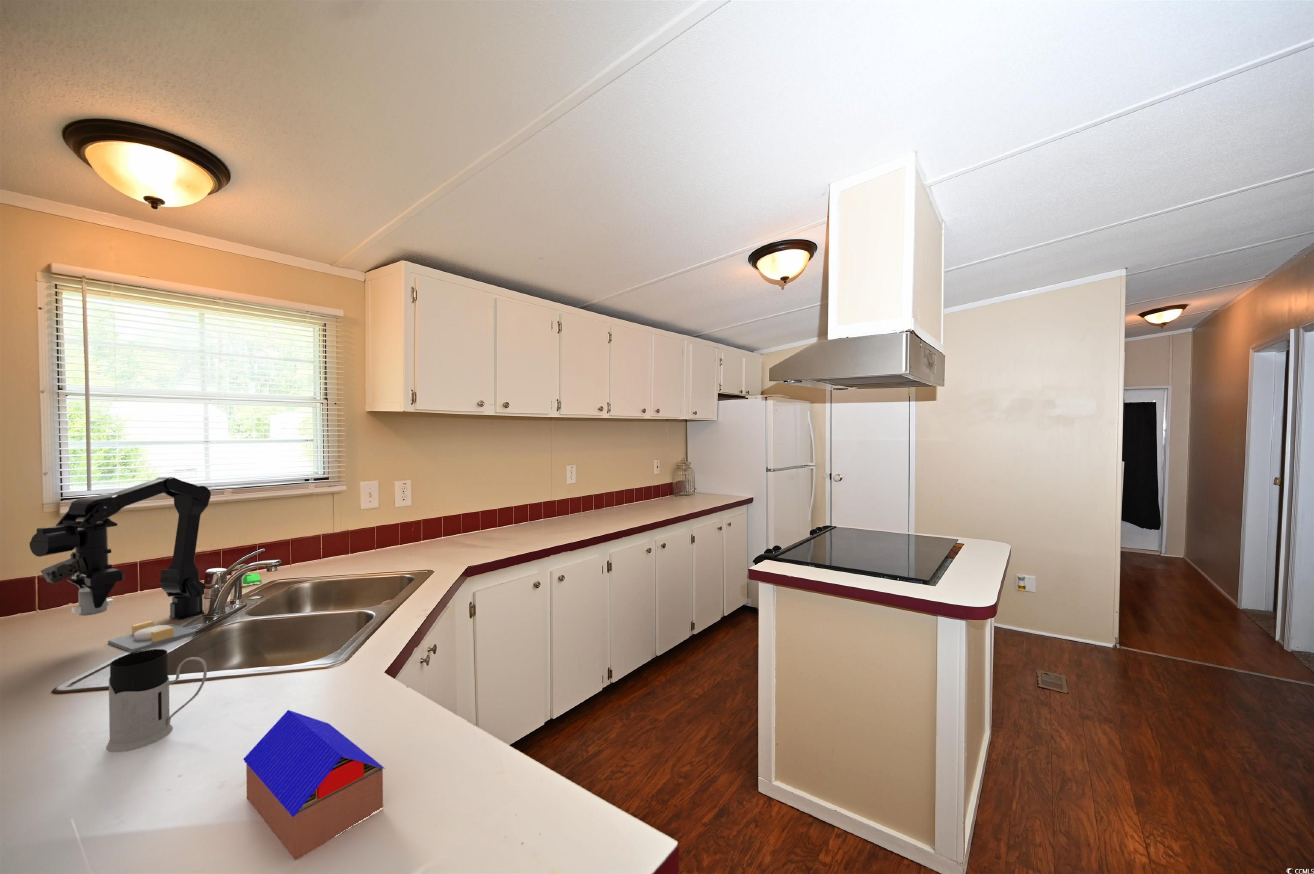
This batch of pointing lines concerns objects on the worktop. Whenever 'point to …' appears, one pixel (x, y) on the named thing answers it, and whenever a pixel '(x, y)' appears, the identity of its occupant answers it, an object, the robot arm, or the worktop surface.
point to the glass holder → (141, 699)
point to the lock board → (148, 643)
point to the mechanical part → (251, 578)
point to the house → (311, 782)
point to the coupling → (89, 604)
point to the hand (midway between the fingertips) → (93, 606)
